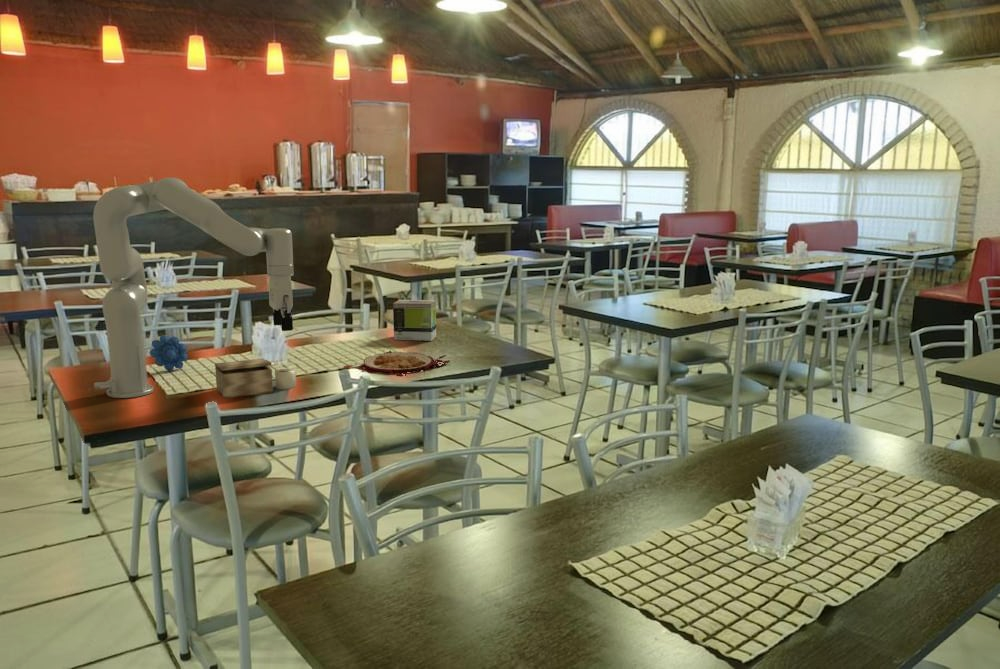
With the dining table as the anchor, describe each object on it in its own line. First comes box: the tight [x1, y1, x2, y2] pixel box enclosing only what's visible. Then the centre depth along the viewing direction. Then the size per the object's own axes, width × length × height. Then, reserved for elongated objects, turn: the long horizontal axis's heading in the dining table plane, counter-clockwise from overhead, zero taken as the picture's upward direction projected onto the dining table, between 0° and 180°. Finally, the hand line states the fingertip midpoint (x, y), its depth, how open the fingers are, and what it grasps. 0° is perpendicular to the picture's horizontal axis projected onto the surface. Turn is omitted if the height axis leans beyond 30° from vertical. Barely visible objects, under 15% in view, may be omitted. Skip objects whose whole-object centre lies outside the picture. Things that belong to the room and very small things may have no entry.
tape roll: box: [274, 367, 297, 390], centre depth 247 cm, size 6×6×5 cm
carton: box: [214, 366, 274, 399], centre depth 242 cm, size 14×11×7 cm
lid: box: [214, 358, 272, 371], centre depth 241 cm, size 14×11×1 cm
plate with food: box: [343, 350, 451, 376], centre depth 275 cm, size 25×26×4 cm
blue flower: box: [149, 334, 189, 372], centre depth 264 cm, size 12×7×12 cm, turn 123°
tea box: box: [392, 299, 437, 342], centre depth 317 cm, size 15×10×15 cm
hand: (283, 327), depth 244 cm, fingers open, 9 cm apart
